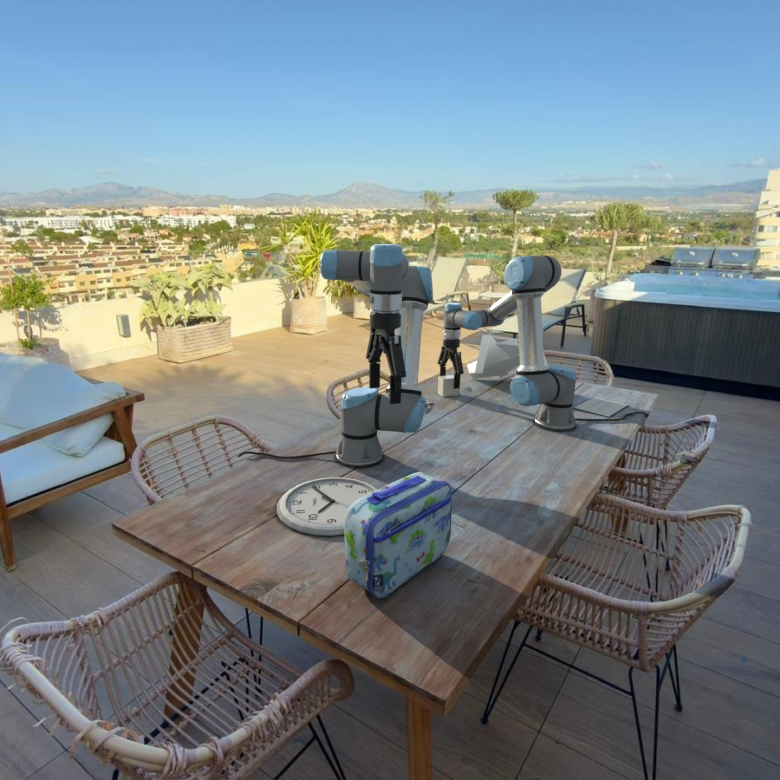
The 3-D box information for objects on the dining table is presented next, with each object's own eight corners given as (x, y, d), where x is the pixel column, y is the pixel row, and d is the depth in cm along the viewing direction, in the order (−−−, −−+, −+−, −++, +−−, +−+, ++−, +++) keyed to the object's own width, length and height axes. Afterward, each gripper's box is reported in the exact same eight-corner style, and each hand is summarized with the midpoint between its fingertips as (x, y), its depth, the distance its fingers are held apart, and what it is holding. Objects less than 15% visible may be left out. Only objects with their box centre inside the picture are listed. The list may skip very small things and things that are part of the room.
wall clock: (392, 527, 129) (268, 531, 127) (391, 533, 130) (269, 537, 127) (383, 473, 158) (282, 475, 155) (383, 478, 158) (282, 480, 156)
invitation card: (608, 416, 214) (573, 407, 224) (608, 416, 214) (573, 408, 224) (628, 404, 229) (594, 396, 238) (628, 405, 229) (594, 397, 238)
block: (437, 393, 240) (438, 376, 238) (454, 391, 244) (455, 374, 241) (442, 396, 236) (443, 379, 233) (459, 394, 239) (460, 377, 237)
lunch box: (372, 611, 103) (373, 518, 97) (338, 585, 111) (336, 497, 104) (455, 557, 121) (460, 475, 115) (420, 537, 128) (424, 459, 122)
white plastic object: (488, 421, 263) (468, 398, 238) (469, 347, 285) (449, 320, 260) (560, 397, 251) (547, 370, 226) (534, 322, 273) (519, 290, 248)
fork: (417, 411, 216) (418, 406, 216) (428, 400, 231) (428, 395, 230) (423, 412, 215) (424, 407, 215) (434, 400, 230) (434, 396, 229)
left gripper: (353, 304, 135) (354, 383, 141) (391, 320, 113) (389, 412, 119) (380, 303, 138) (379, 380, 144) (422, 318, 116) (419, 408, 122)
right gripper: (431, 333, 242) (429, 377, 248) (458, 344, 220) (455, 392, 226) (445, 332, 244) (443, 376, 251) (473, 343, 223) (470, 391, 229)
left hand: (384, 395), depth 132 cm, fingers open, 13 cm apart
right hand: (449, 384), depth 239 cm, fingers open, 12 cm apart
